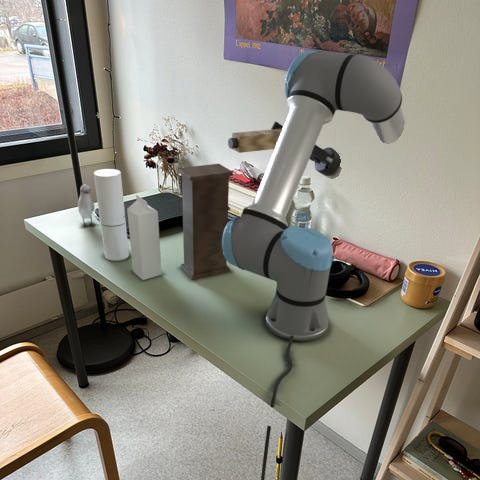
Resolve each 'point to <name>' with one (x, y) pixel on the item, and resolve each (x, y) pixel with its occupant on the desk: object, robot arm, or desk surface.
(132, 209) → the milk
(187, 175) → the wooden pedestal column
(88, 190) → the bird
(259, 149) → the wooden plank
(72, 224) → the desk surface
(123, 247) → the cylindrical container
